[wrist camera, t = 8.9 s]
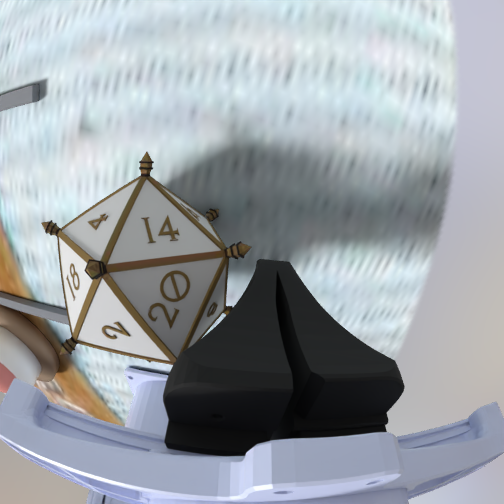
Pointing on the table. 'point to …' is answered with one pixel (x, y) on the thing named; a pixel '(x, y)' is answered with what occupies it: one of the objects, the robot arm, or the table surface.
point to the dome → (16, 361)
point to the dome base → (31, 341)
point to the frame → (17, 303)
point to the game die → (142, 272)
